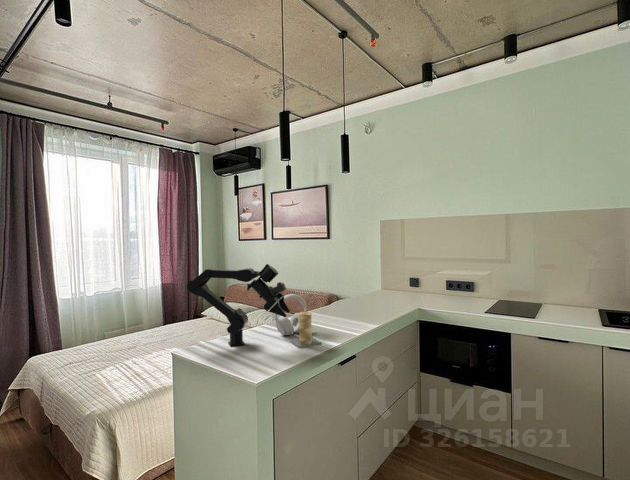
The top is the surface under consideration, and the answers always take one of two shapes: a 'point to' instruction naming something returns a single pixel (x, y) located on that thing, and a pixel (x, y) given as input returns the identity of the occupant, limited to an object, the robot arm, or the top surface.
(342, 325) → the top surface
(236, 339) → the robot arm
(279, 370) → the top surface
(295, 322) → the headphones
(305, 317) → the oak block
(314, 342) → the rubber mat
